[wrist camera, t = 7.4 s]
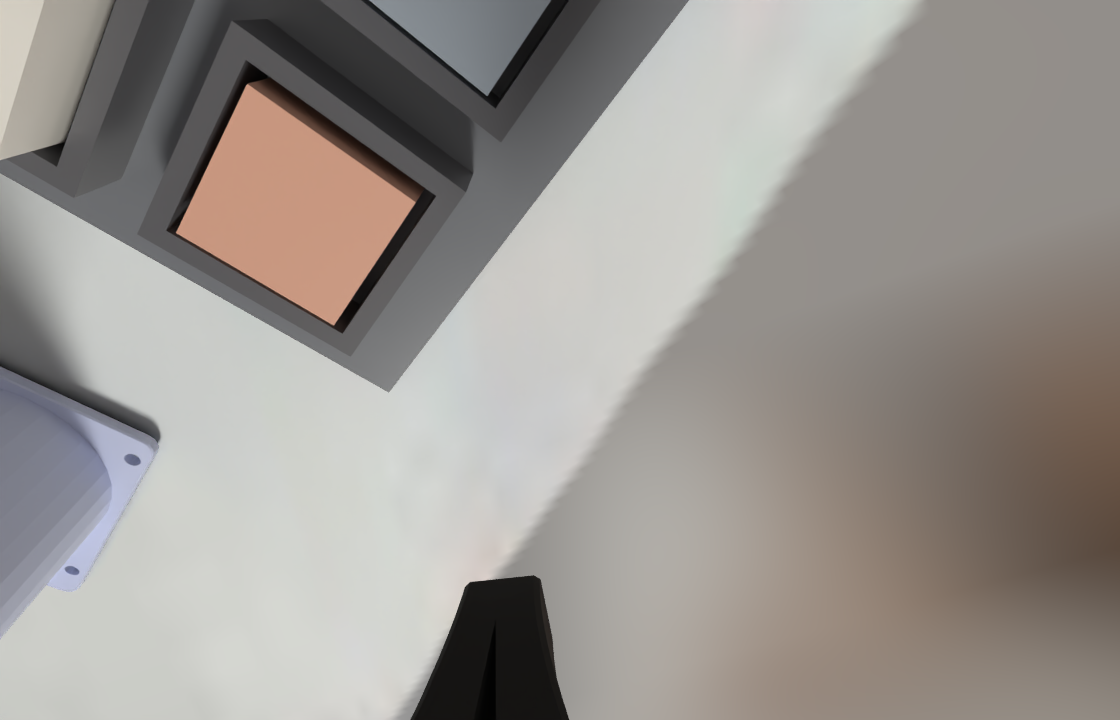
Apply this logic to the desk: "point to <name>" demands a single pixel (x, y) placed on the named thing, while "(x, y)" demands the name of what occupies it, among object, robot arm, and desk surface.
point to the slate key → (469, 32)
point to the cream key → (45, 68)
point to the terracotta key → (297, 201)
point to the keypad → (362, 111)
